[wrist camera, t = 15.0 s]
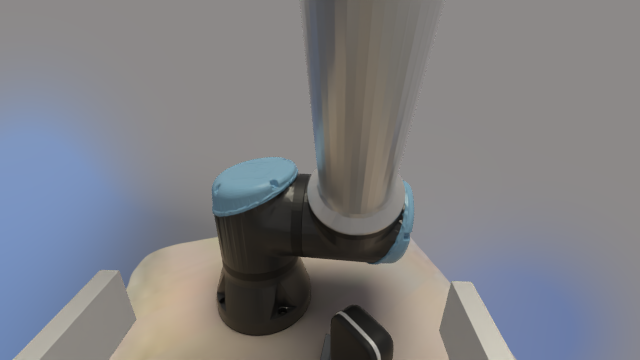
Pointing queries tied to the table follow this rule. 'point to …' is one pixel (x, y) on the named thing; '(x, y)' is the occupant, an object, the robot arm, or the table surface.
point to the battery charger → (358, 336)
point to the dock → (326, 349)
